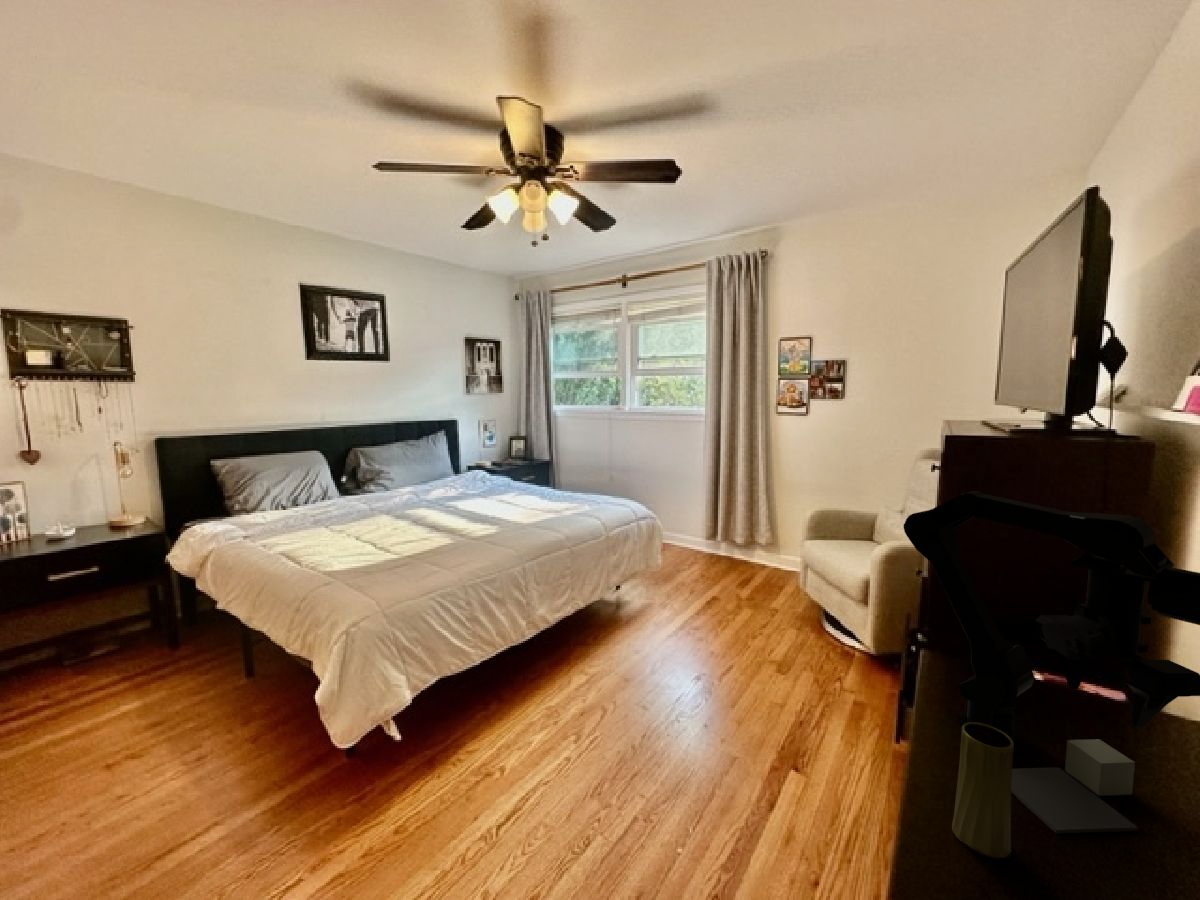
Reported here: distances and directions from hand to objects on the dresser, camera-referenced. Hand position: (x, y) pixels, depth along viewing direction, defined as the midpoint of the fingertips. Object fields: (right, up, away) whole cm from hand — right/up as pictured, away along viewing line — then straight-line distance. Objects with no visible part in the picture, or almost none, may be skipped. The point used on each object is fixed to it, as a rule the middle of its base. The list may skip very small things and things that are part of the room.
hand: (1103, 706), depth 73 cm
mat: (-9, -12, -2) cm, 15 cm away
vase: (-25, -13, -8) cm, 29 cm away
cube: (0, -12, +1) cm, 12 cm away
